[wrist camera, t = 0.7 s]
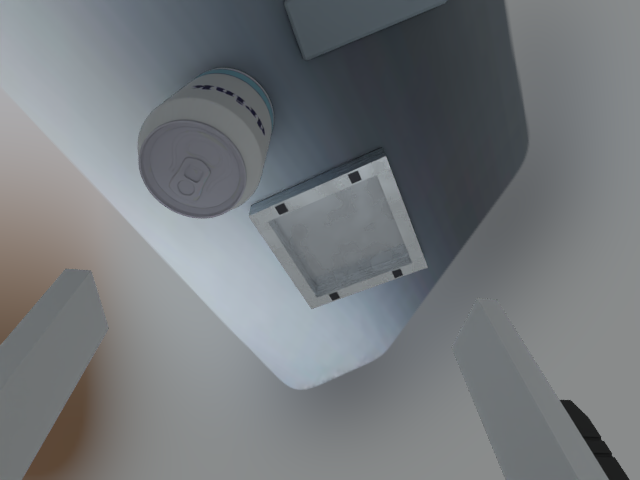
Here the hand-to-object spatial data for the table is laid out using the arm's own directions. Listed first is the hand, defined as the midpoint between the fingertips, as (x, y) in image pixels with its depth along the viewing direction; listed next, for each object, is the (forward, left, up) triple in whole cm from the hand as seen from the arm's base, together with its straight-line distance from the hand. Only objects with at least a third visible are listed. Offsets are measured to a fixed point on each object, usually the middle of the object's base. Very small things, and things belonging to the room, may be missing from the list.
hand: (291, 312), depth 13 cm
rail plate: (+11, -1, -21) cm, 23 cm away
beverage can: (-4, -4, -21) cm, 22 cm away
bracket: (-6, +8, -21) cm, 24 cm away
